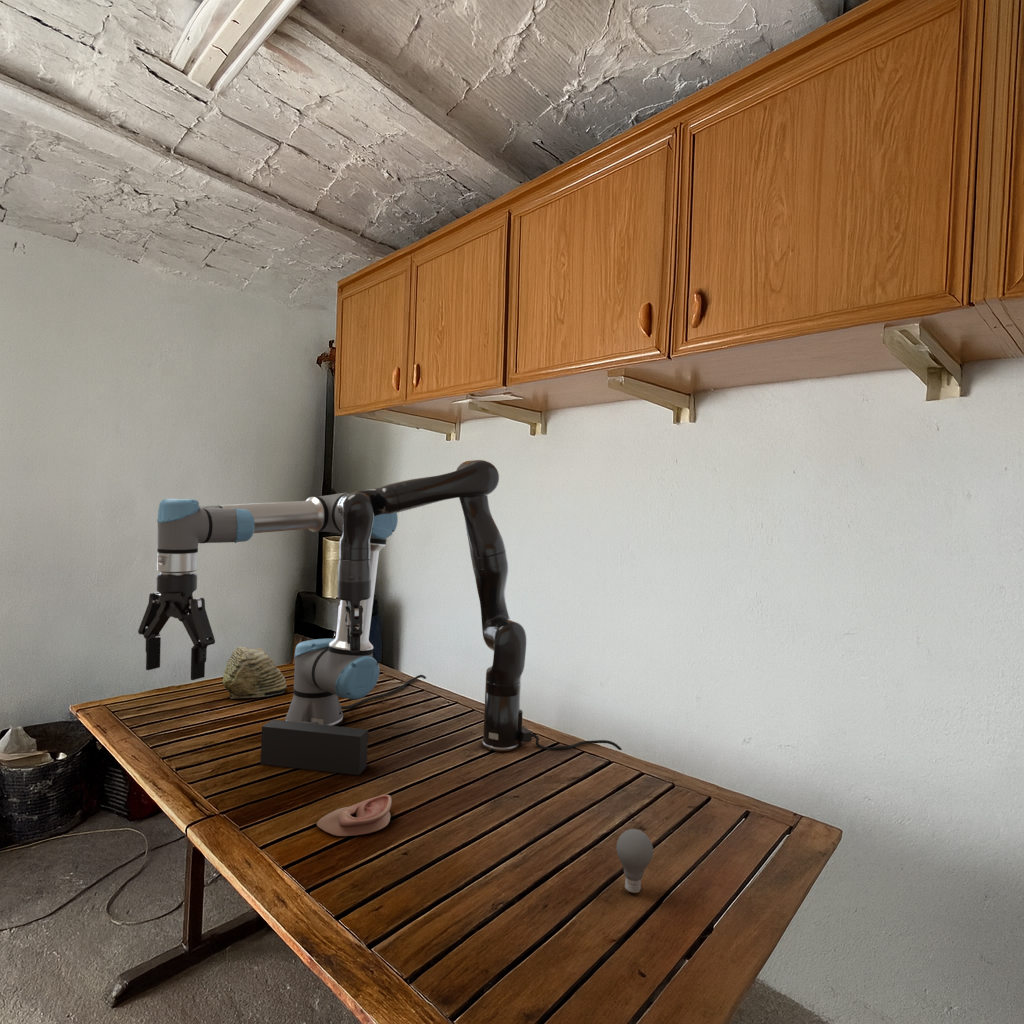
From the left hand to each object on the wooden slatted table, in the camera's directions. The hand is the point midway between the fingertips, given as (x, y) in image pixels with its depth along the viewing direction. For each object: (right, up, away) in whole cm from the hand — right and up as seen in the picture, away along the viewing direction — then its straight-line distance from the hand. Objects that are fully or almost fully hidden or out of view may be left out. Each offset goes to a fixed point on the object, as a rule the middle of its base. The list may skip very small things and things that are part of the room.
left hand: (174, 673), depth 133 cm
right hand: (+34, +2, +14) cm, 37 cm away
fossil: (-10, -23, +65) cm, 70 cm away
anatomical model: (+40, -27, -9) cm, 49 cm away
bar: (+24, -26, +16) cm, 39 cm away
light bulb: (+91, -30, -27) cm, 99 cm away
